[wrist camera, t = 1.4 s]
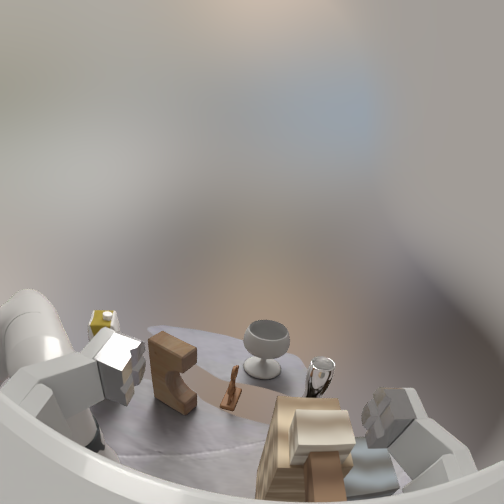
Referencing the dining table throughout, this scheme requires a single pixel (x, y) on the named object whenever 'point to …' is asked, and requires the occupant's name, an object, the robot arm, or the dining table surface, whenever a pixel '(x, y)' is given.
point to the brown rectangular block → (321, 451)
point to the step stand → (292, 476)
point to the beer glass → (318, 377)
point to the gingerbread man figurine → (231, 392)
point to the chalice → (265, 348)
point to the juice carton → (102, 322)
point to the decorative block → (172, 371)
